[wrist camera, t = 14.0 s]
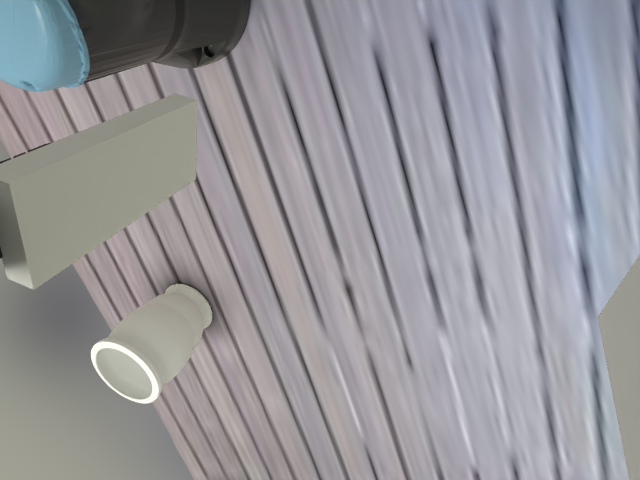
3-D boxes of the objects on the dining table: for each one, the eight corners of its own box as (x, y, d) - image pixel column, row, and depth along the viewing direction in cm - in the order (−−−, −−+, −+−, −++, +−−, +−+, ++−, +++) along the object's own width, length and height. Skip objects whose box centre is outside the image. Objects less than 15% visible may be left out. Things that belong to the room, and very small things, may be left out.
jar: (149, 287, 75) (76, 351, 63) (191, 268, 69) (120, 334, 57) (188, 338, 78) (126, 409, 66) (232, 324, 72) (173, 398, 60)
